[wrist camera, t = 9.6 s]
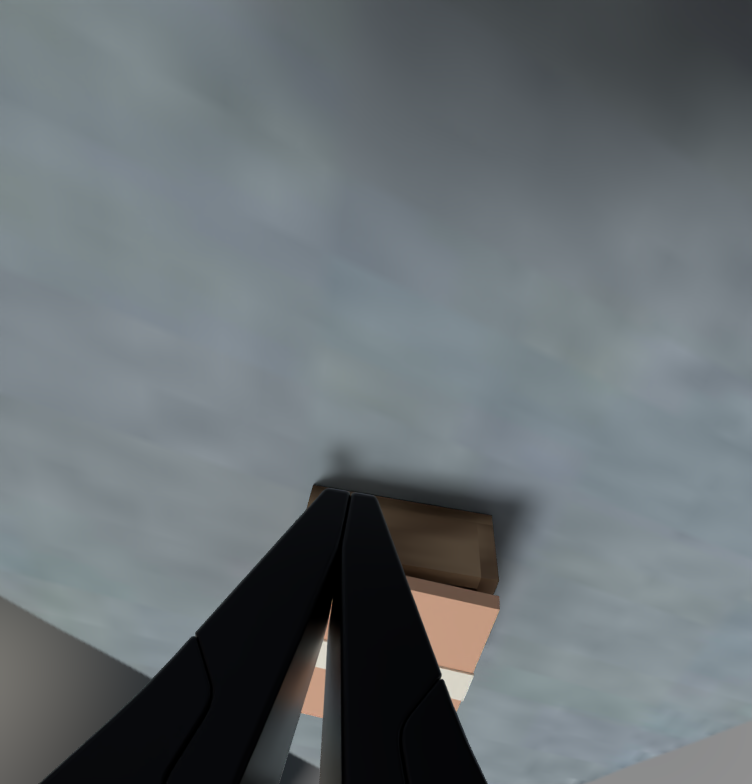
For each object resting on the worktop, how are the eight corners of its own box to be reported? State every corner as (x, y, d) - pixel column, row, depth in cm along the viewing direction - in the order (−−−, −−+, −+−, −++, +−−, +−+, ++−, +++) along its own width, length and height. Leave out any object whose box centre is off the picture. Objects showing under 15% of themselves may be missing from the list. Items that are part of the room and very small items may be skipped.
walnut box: (496, 501, 24) (507, 584, 20) (438, 665, 31) (438, 749, 27) (304, 468, 24) (280, 545, 20) (288, 639, 31) (269, 720, 27)
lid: (500, 596, 21) (500, 612, 21) (443, 733, 27) (442, 748, 26) (294, 550, 22) (289, 564, 21) (281, 695, 27) (277, 709, 27)
